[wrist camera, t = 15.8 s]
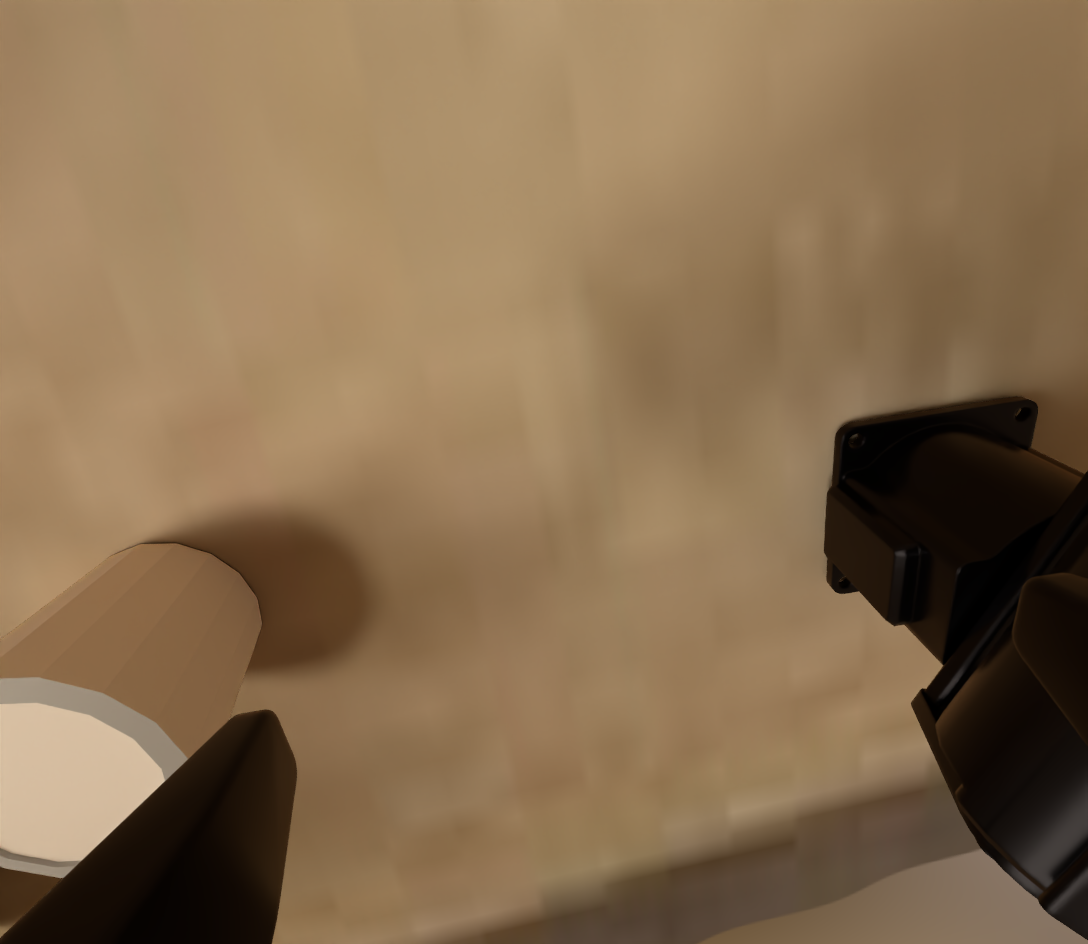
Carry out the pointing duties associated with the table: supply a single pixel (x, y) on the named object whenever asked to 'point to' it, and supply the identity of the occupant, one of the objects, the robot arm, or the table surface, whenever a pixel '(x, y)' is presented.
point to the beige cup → (114, 696)
